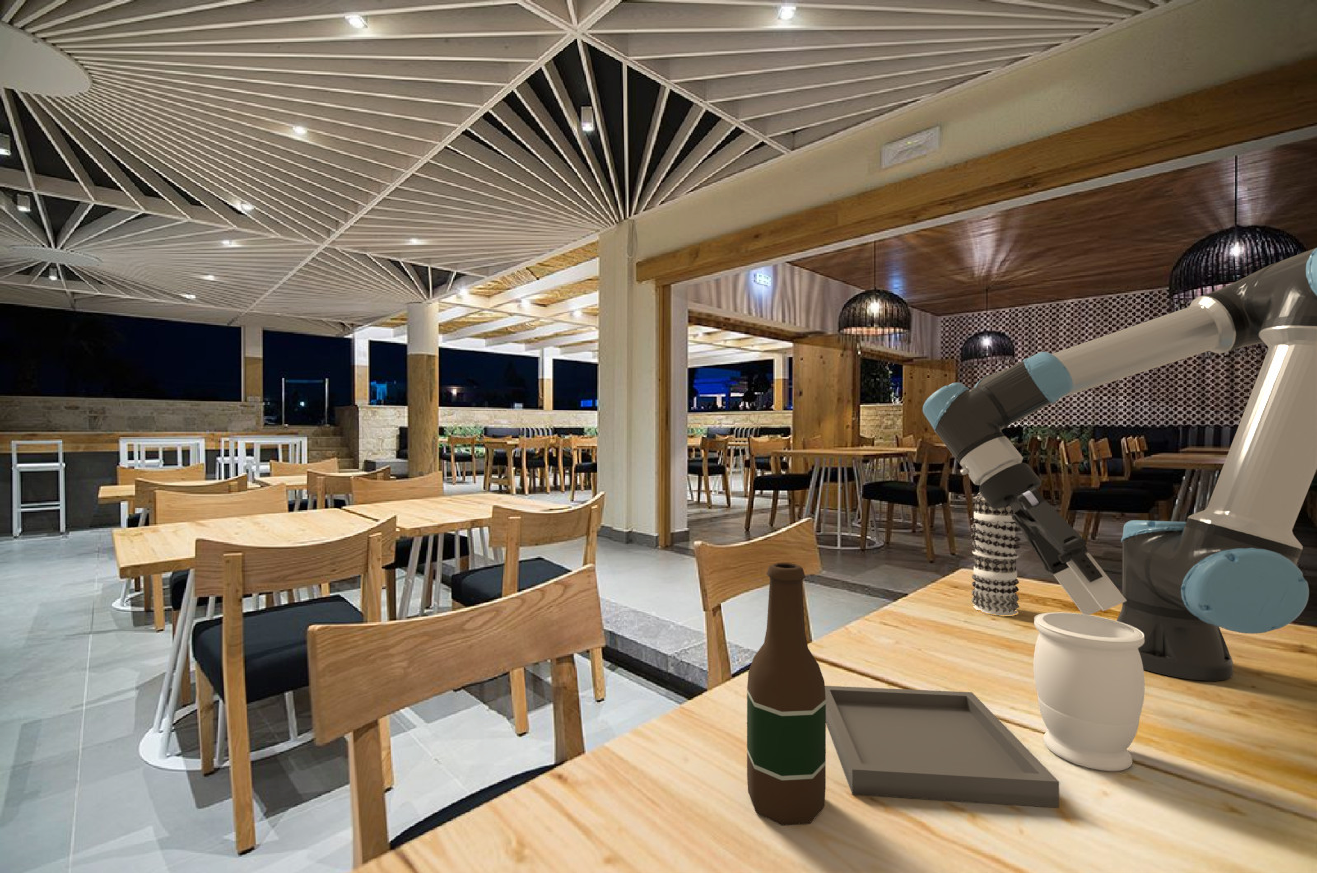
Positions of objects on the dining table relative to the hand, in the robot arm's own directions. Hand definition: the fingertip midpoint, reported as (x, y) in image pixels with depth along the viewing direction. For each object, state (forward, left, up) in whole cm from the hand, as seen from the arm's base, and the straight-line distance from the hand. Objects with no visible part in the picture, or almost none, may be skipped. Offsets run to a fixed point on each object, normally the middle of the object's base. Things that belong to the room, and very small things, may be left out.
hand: (1104, 610), depth 76 cm
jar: (+7, +9, -14) cm, 19 cm away
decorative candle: (-8, -47, -14) cm, 50 cm away
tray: (+26, +10, -14) cm, 32 cm away
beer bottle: (+43, +22, -14) cm, 51 cm away
